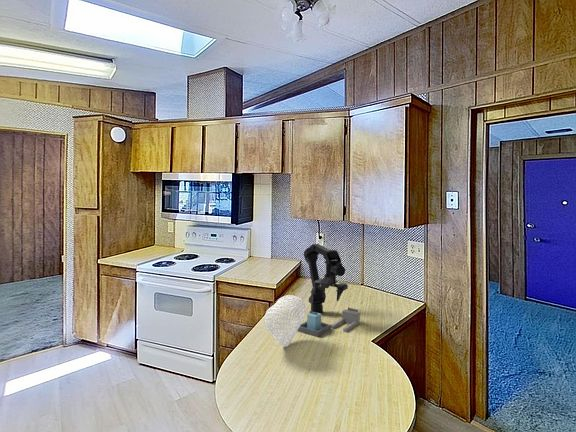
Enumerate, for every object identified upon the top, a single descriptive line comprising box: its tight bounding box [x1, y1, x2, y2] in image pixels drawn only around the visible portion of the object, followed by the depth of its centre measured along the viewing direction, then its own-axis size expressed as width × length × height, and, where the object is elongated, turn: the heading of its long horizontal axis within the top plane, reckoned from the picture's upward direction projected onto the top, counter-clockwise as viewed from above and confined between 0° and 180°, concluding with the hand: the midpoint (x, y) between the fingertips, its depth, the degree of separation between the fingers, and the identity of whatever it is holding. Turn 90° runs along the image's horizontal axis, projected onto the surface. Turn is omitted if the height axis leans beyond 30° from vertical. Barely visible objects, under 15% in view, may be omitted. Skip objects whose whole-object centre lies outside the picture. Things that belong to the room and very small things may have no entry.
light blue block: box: [306, 312, 322, 331], centre depth 182 cm, size 5×6×9 cm
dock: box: [330, 307, 361, 333], centre depth 190 cm, size 9×18×7 cm, turn 143°
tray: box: [297, 320, 332, 338], centre depth 182 cm, size 13×13×3 cm
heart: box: [264, 294, 307, 348], centre depth 162 cm, size 28×16×22 cm, turn 164°
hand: (330, 299), depth 195 cm, fingers open, 9 cm apart
